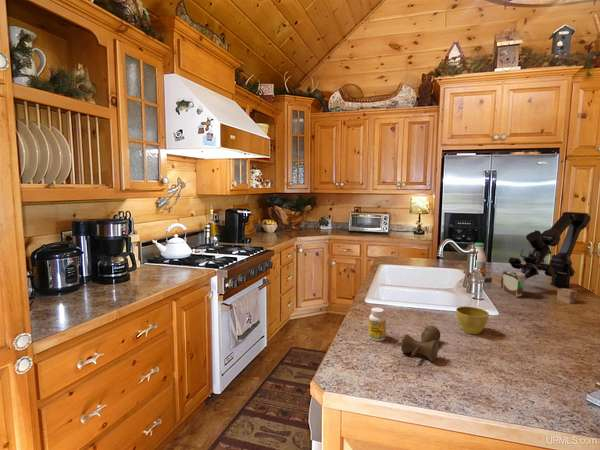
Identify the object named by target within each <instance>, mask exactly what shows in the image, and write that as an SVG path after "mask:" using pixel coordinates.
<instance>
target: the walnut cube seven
mask: <svg viewBox="0 0 600 450" xmlns="http://www.w3.org/2000/svg"><path fill="white" fill-rule="evenodd" d="M577 295H578V291H577V290H572V289H571V288H558V289H557V294H556V301H558V302H561V303H565V304H569V305H570V304H575V303H577Z"/></svg>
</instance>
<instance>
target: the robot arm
mask: <svg viewBox="0 0 600 450" xmlns="http://www.w3.org/2000/svg"><path fill="white" fill-rule="evenodd" d="M589 222H591V216H590V215H589V214H588V212H576V211H573V212H572V211H563V212H562V214H561V216H560V217H559V218H558V219H557V221H555V223H554V224H553V225H552V227H550V228H549V229H547V230H544V231H543V232H542V233H541V231H540V230H534V231H532V232H529V233H528V234H526V236H525V239H526V241H527V242H528V244H529V245H530V247H531V248H532V250H528V249H521V251H520V254H519V257H521V258H522V260H521V259H520V258H518V257H513V256H511V257H509V259H508V263H509V265H511V268H513V269H516V270H520V272H521V273H523V274H525V276H526V280H527V279H530V278H533V277H534V276H538V275H539V274H540V273H539V272H541V271H542V272H544V275H545V276H547V277H551V282H549V284H550V285H551V286H553V287H555V288H558V289H562V288H566V289H572V287H571V286H570V284H571V283H570V282H571V281H570V280H571V277H574V275H575V273H576V272H575V270H574V267H573V266H572V265H573V262H572V259H571V256H572V253H573V251H574V249H575V246H576V245H577V244H576V243H577V241H578V238H579V236H580V233H581V231H583V230H584V229H585V228H587V227H588V225H589ZM566 229H567V231H566V233H565V236H564V238H563V241H562V244H561V247H560V249H559V252H558V253H557V254H553V255H552V256H551V259H550V261H549V263H545V262H546V261H545V258H546V257H547V256H548V254H549V255H551V254H552V251H551V247H556V246H558V245H559V243H560V241H561V236H562V234H564V232H565V230H566ZM549 246H550V247H549Z"/></svg>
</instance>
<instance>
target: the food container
mask: <svg viewBox="0 0 600 450" xmlns="http://www.w3.org/2000/svg"><path fill="white" fill-rule="evenodd" d="M501 272H502V273H501V275H503V287H502V288H503V292H504V293H506V294H507V295H509V296H510V297H513V298H515V299H520V298H522V297H523V293H524V285H525V281H526V280H527V279H526V276H525V274H523V273H521V271H514V270H502V271H501Z"/></svg>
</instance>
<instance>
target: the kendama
mask: <svg viewBox="0 0 600 450" xmlns="http://www.w3.org/2000/svg"><path fill="white" fill-rule="evenodd" d="M441 337H442V336H441V331H440V329H439V328H438V327H436V326H434V325H427V326H426V327H425V328H424V331H422V332H421V334H420V338H421V339H420V340H416V339H415V338H413V337H412V336H410V335H409V334H404V335H403V337H402V339H401V343H400V345H401V346H400V347H401V352H402V353H403V354H409V353H411V356H415V355H416V354H421V355H423V356H425V357H426V358H427V359H428V360H430V362H432V363H434V362H435V361H437V357H438V353H439V340H440V339H441Z"/></svg>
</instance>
